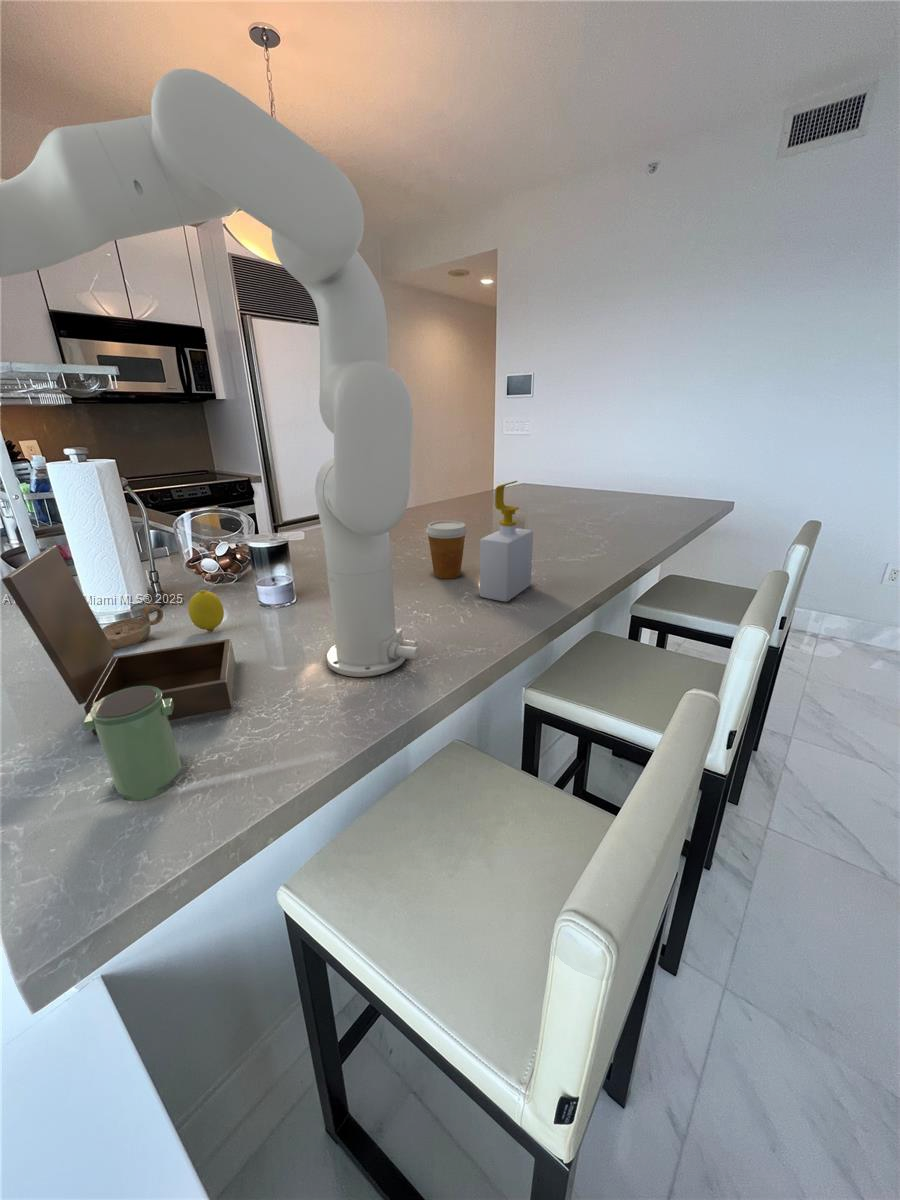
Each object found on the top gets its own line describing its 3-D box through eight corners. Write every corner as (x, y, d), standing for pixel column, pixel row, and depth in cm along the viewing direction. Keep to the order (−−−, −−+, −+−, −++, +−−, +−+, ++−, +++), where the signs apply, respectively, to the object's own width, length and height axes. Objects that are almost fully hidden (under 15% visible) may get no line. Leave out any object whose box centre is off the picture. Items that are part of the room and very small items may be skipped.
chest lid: (56, 545, 63) (49, 546, 63) (9, 577, 51) (0, 579, 51) (115, 652, 70) (109, 654, 70) (86, 702, 58) (78, 705, 58)
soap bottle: (506, 603, 99) (510, 486, 90) (478, 597, 102) (479, 483, 94) (531, 585, 108) (537, 478, 100) (504, 580, 112) (507, 476, 103)
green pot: (192, 753, 57) (173, 679, 53) (185, 790, 52) (163, 710, 48) (117, 770, 55) (92, 693, 51) (102, 810, 49) (72, 727, 46)
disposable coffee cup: (422, 570, 119) (421, 522, 115) (459, 566, 122) (459, 519, 118) (433, 582, 111) (432, 531, 107) (472, 578, 114) (473, 527, 109)
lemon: (214, 639, 86) (205, 596, 83) (186, 636, 87) (177, 594, 84) (233, 626, 91) (225, 585, 88) (207, 624, 92) (198, 583, 89)
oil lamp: (102, 663, 78) (93, 635, 76) (77, 653, 81) (68, 626, 79) (179, 632, 88) (172, 606, 87) (154, 624, 92) (147, 599, 90)
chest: (236, 665, 77) (230, 638, 75) (232, 713, 65) (225, 681, 63) (121, 685, 72) (112, 656, 70) (95, 740, 60) (83, 707, 58)
